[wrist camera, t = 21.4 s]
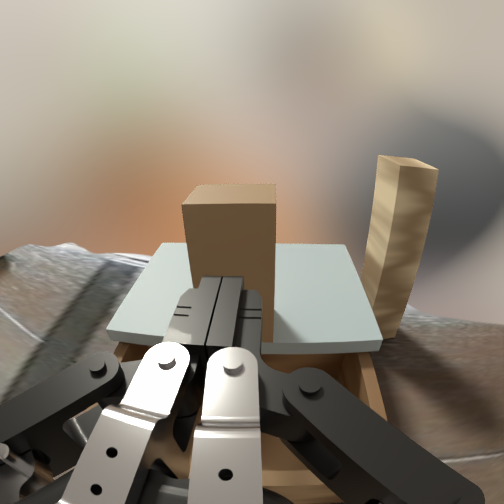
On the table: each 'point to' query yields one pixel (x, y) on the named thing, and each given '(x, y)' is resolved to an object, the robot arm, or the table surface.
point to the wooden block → (396, 236)
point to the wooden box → (272, 449)
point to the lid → (253, 277)
